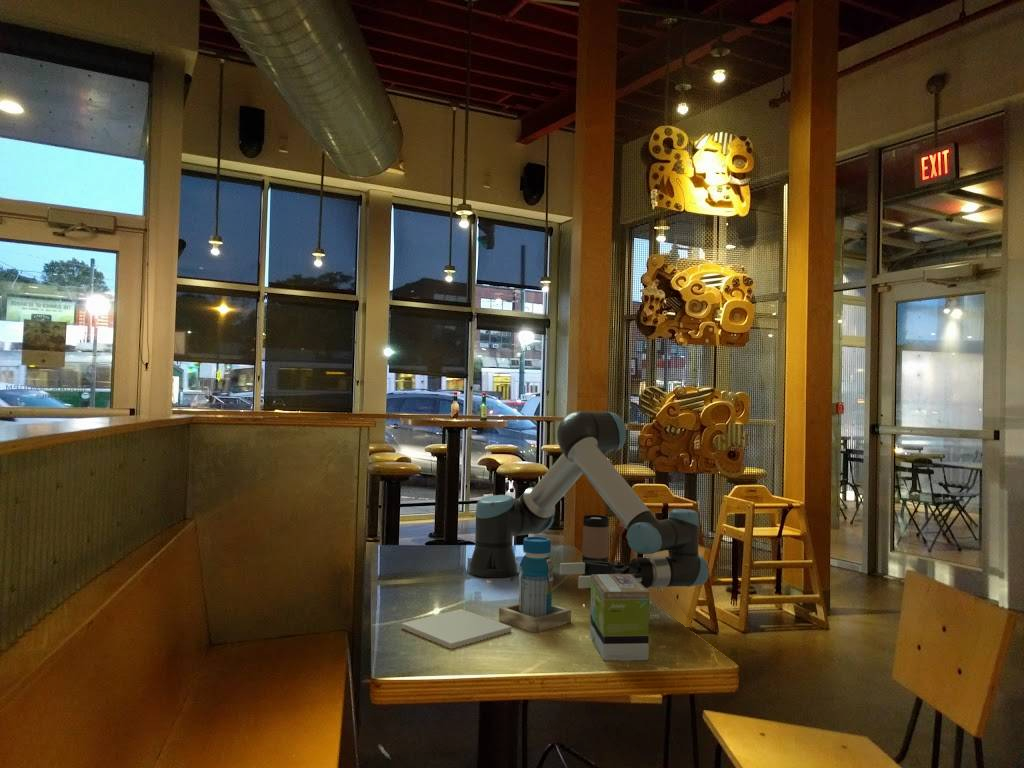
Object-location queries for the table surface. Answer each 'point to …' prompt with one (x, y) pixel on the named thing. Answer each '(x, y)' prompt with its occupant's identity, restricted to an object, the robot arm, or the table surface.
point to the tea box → (619, 617)
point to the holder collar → (532, 623)
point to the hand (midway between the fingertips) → (569, 575)
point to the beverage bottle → (536, 577)
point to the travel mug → (595, 539)
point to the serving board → (456, 628)
